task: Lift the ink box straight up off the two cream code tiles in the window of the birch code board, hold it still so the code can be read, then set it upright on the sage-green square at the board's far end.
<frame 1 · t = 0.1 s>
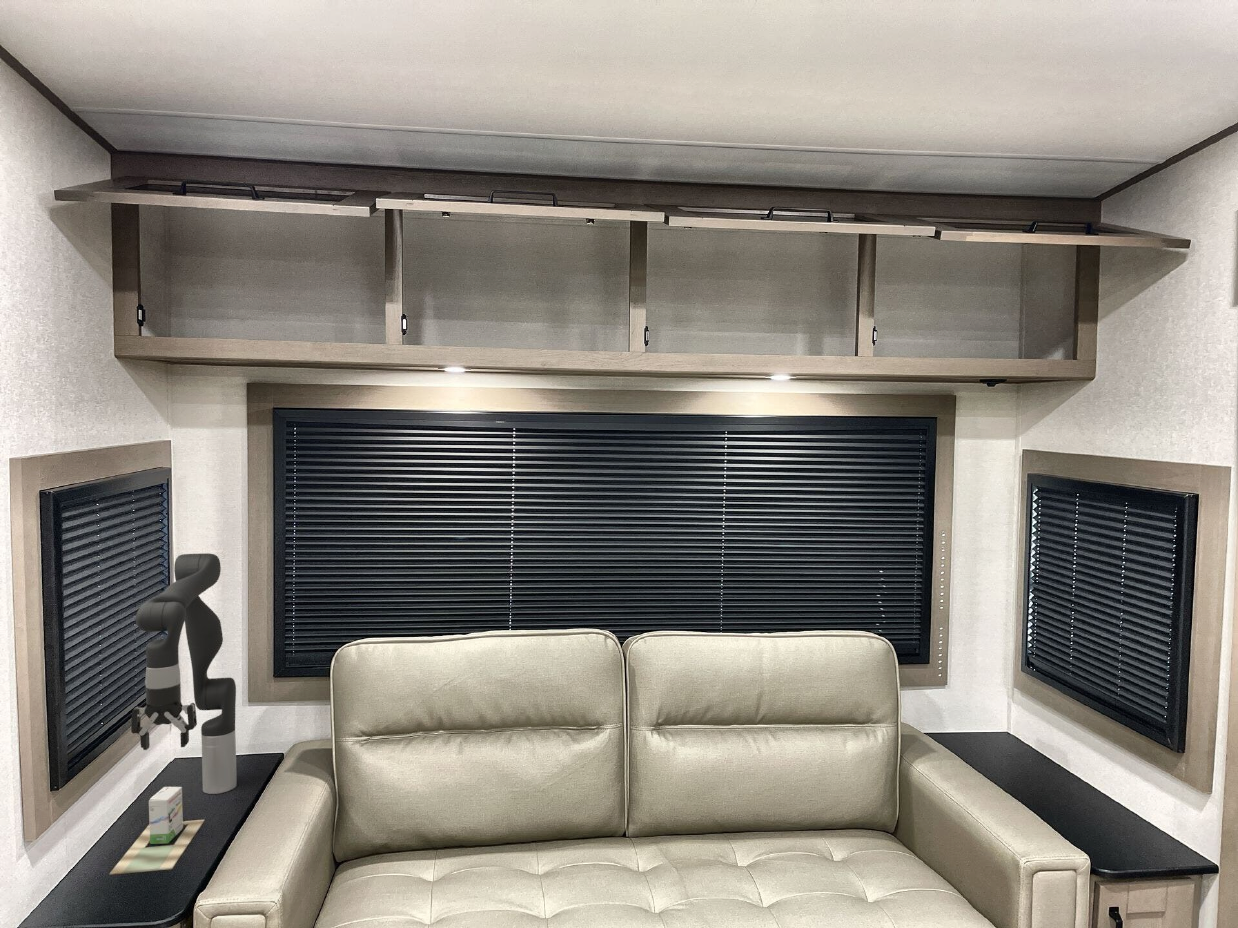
hand: (165, 747, 207), 29 cm above the table, tool pointing down, fingers open, 8 cm apart
ink box: (166, 836, 221), on the table, touching code board
code board: (158, 847, 216), on the table
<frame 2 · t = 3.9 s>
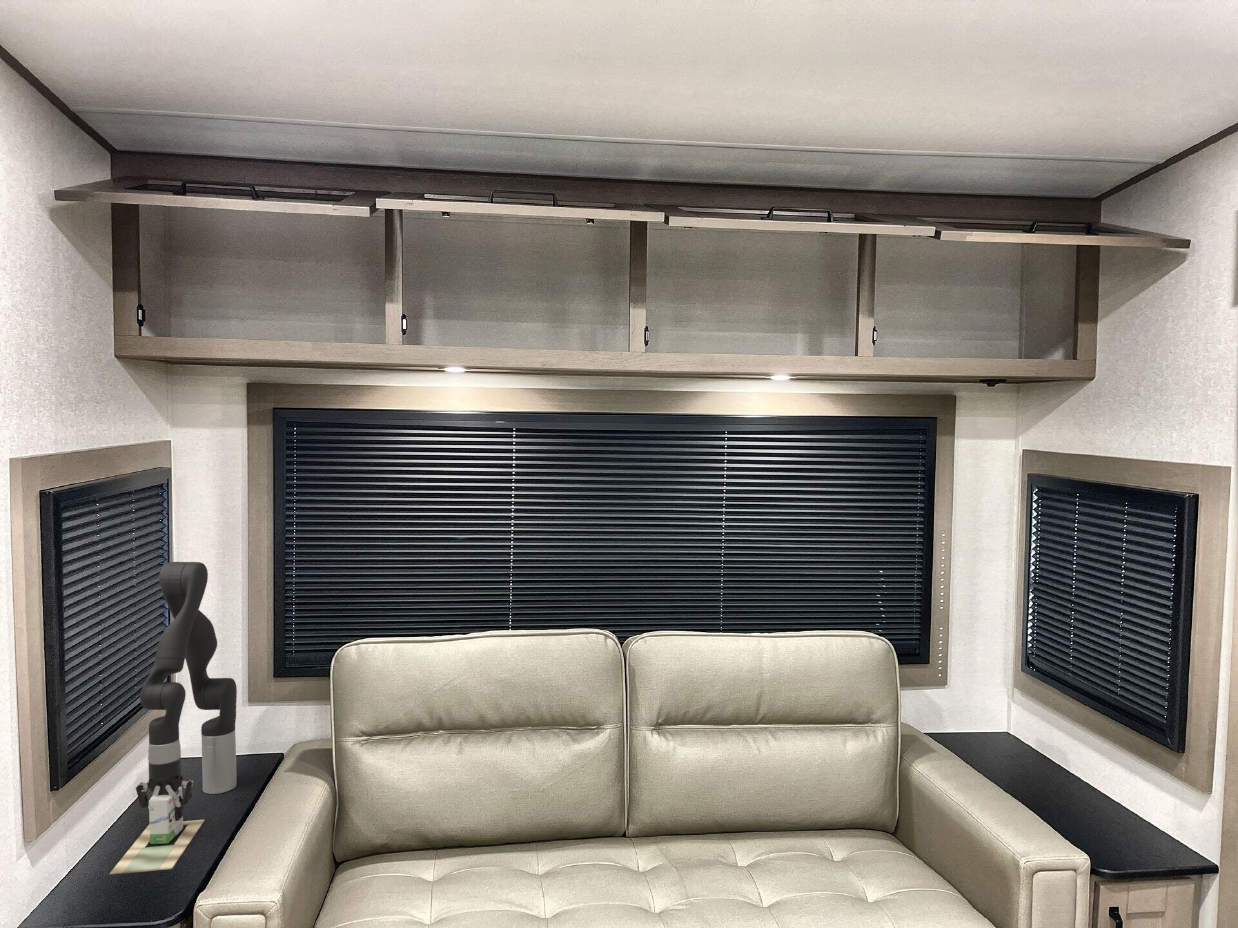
hand: (166, 820, 221), 4 cm above the table, tool pointing down, fingers closed on ink box, 5 cm apart
ink box: (166, 836, 221), on the table, touching code board, gripper
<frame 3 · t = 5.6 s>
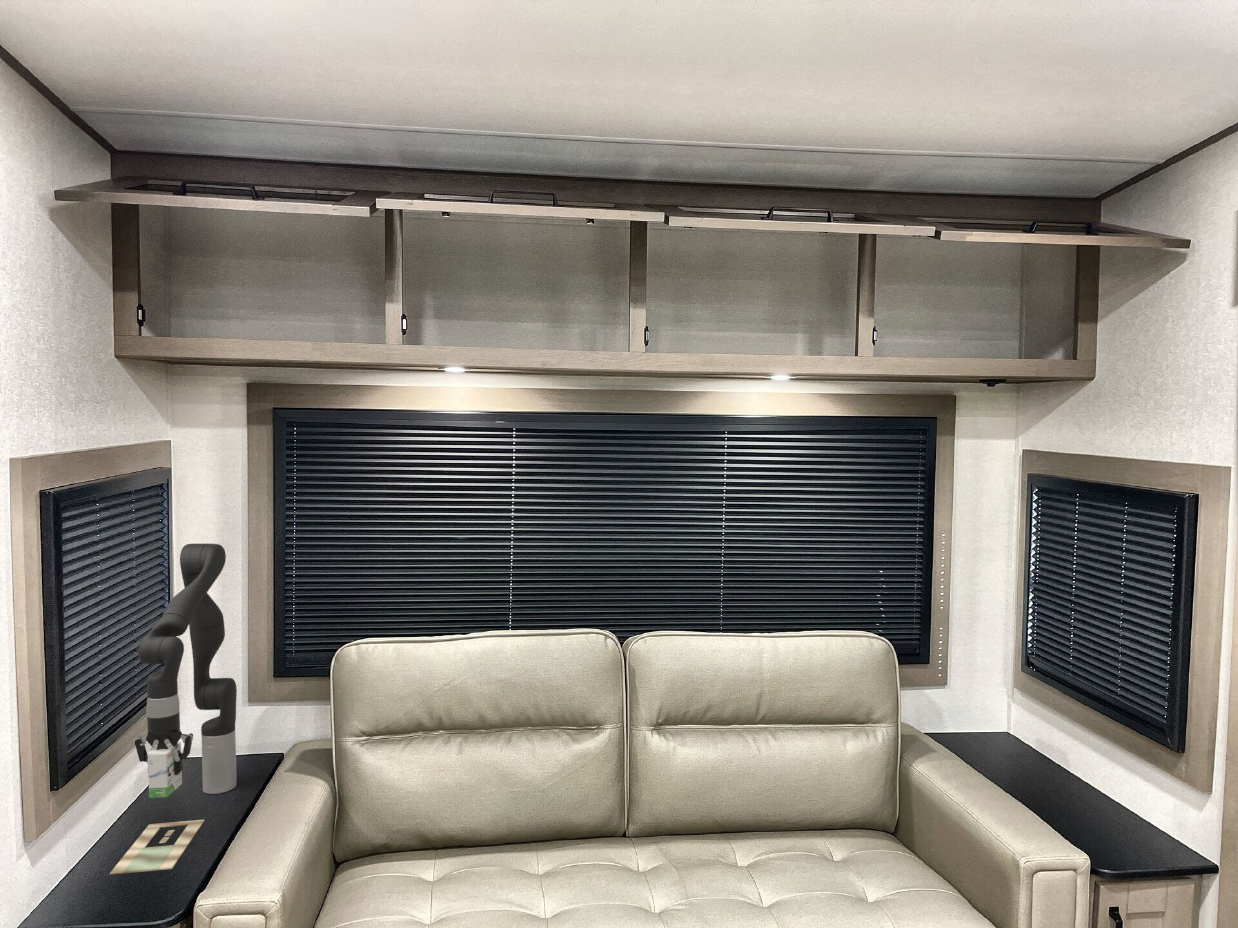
hand: (165, 774, 221), 17 cm above the table, tool pointing down, fingers closed on ink box, 5 cm apart
ink box: (166, 791, 221), point 12 cm above the table, touching gripper
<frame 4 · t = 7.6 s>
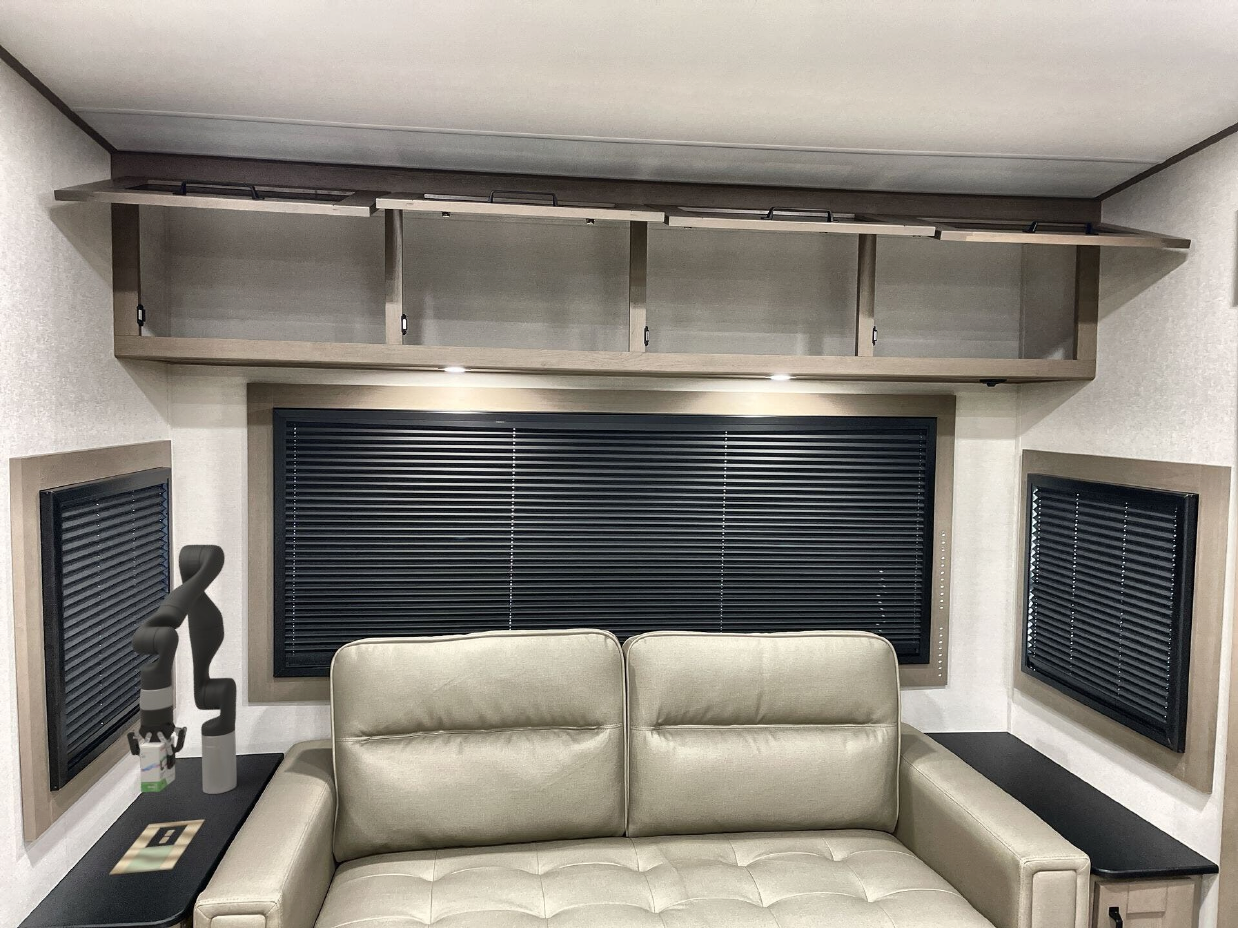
hand: (157, 768, 216), 20 cm above the table, tool pointing down, fingers closed on ink box, 5 cm apart
ink box: (158, 786, 216), point 16 cm above the table, touching gripper
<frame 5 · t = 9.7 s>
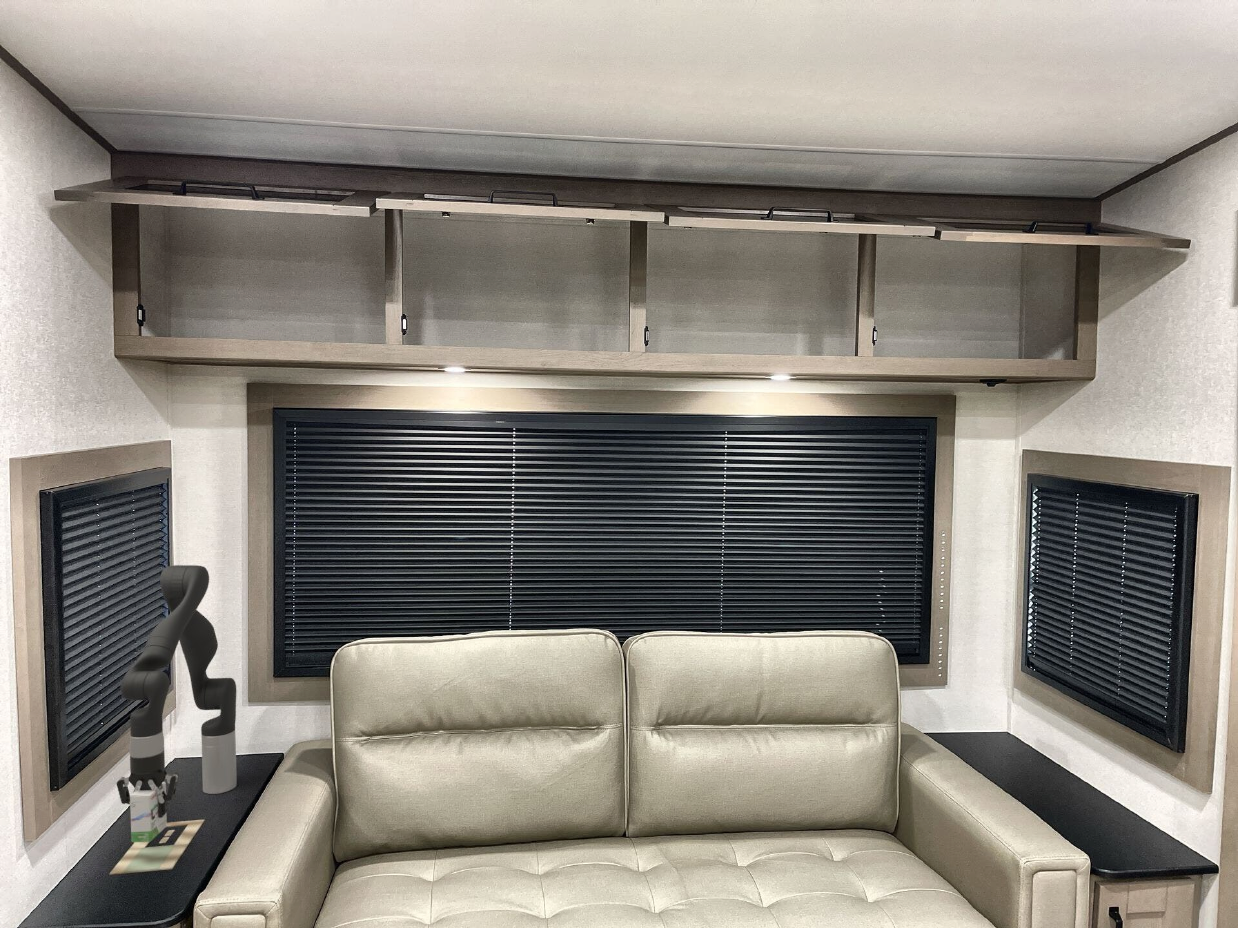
hand: (149, 816, 209), 11 cm above the table, tool pointing down, fingers closed on ink box, 5 cm apart
ink box: (149, 834, 209), point 6 cm above the table, touching gripper
when the fingers open (6 cm above the table, at t = 11.5 s): ink box drops 1 cm, resting on code board.
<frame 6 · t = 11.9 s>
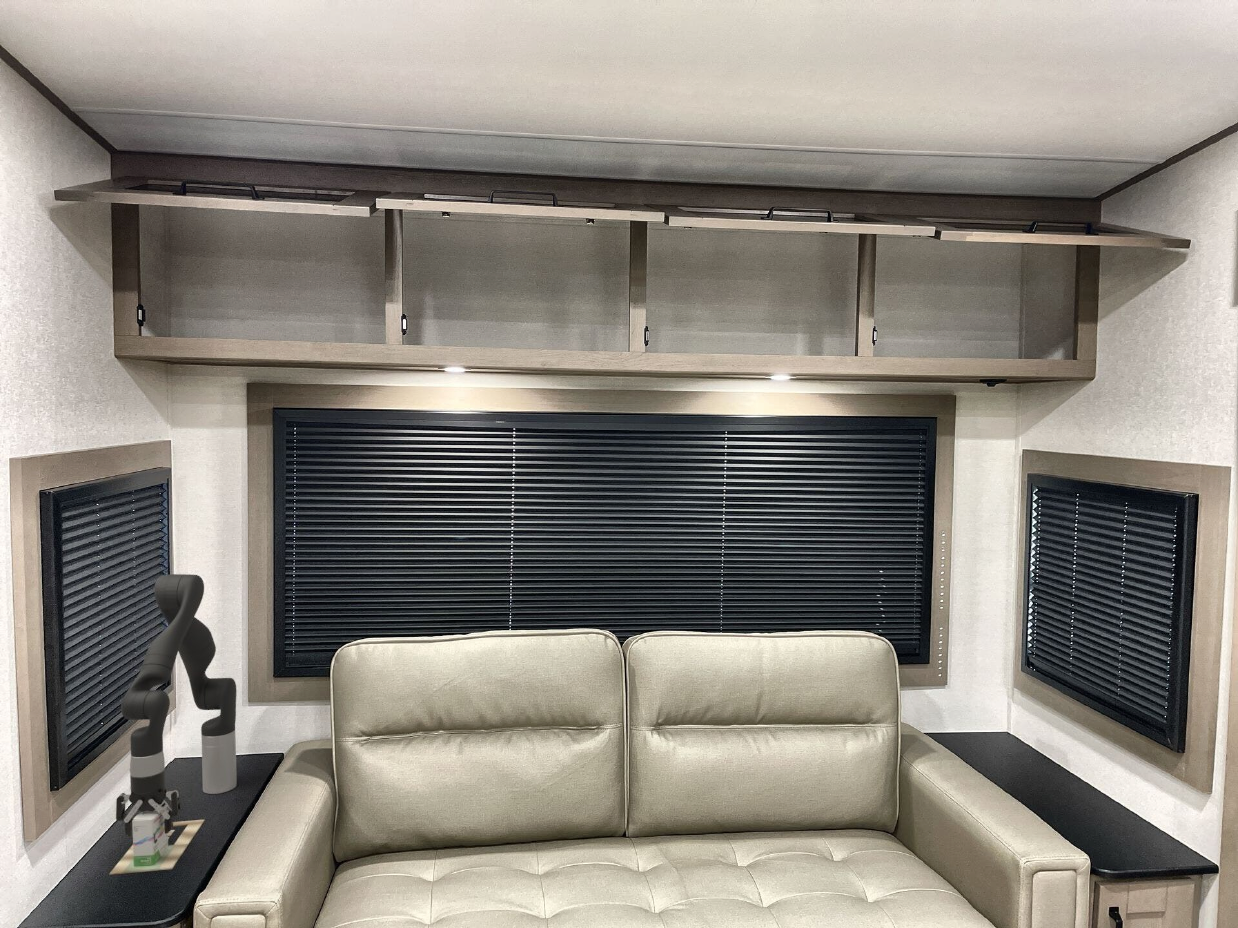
hand: (149, 833, 209), 7 cm above the table, tool pointing down, fingers open, 8 cm apart
ink box: (151, 858, 210), resting on code board
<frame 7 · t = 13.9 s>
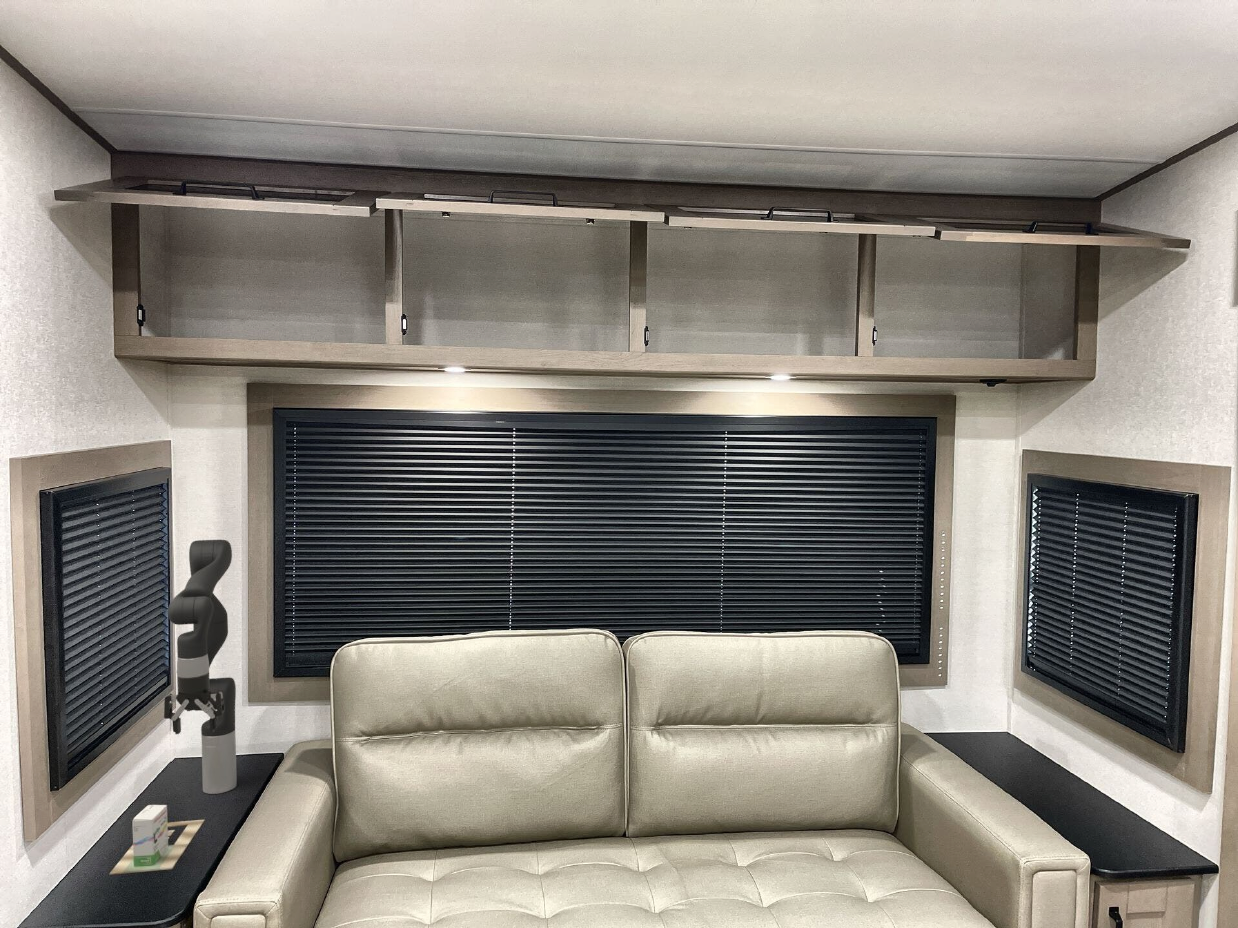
hand: (195, 731, 221), 28 cm above the table, tool pointing down, fingers open, 8 cm apart
nothing on the table moved.
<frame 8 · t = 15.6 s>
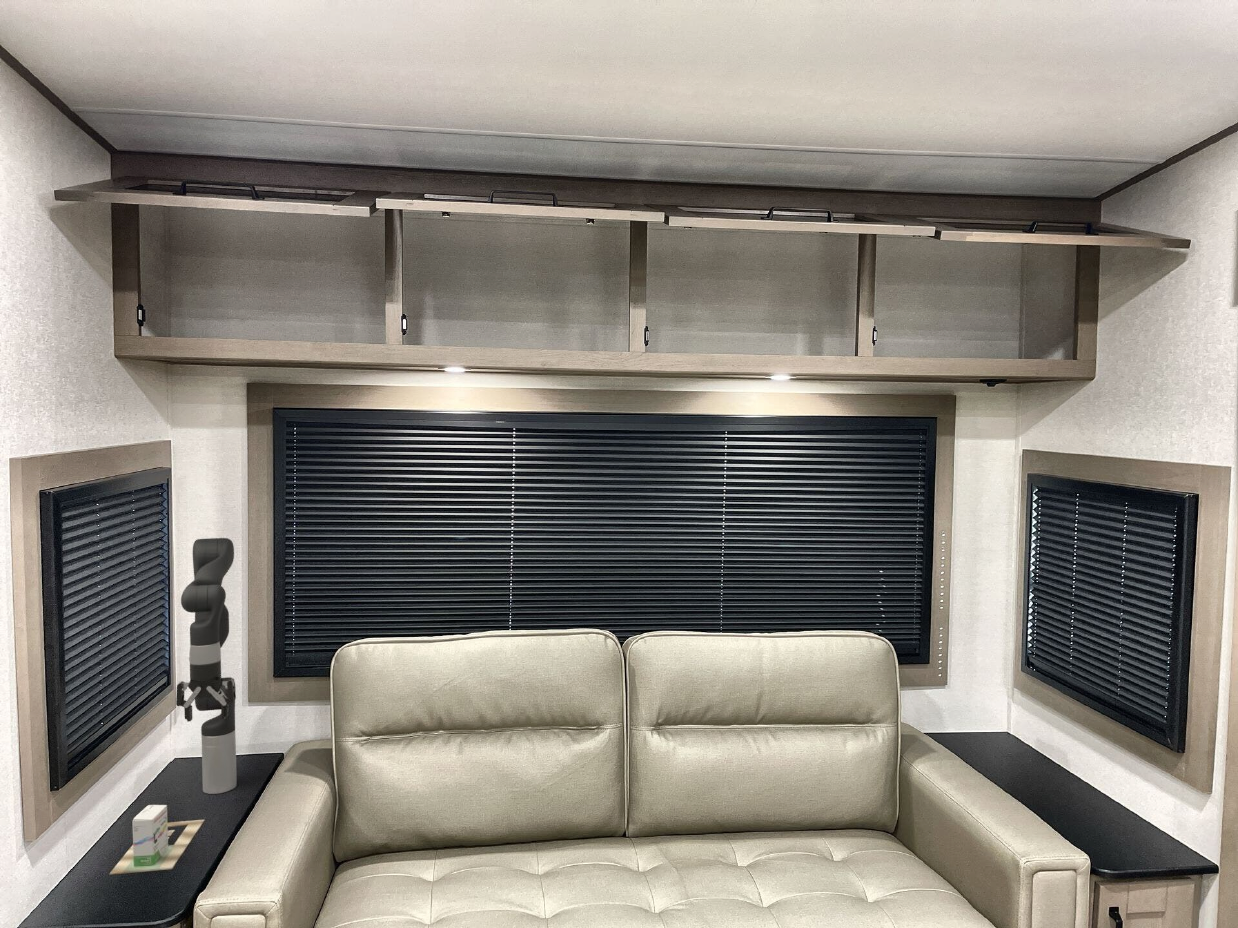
hand: (206, 719, 224), 30 cm above the table, tool pointing down, fingers open, 8 cm apart
nothing on the table moved.
at the end: ink box inside the target area on the code board (0.3 cm from its centre), point 0.2 cm above the code board's base; ink box tilted 0°; the gripper is holding nothing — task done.
